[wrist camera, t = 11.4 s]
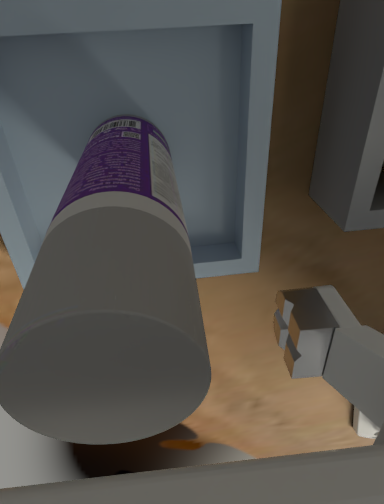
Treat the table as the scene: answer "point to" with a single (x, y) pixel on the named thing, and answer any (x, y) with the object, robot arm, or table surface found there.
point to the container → (110, 302)
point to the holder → (353, 121)
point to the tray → (140, 111)
